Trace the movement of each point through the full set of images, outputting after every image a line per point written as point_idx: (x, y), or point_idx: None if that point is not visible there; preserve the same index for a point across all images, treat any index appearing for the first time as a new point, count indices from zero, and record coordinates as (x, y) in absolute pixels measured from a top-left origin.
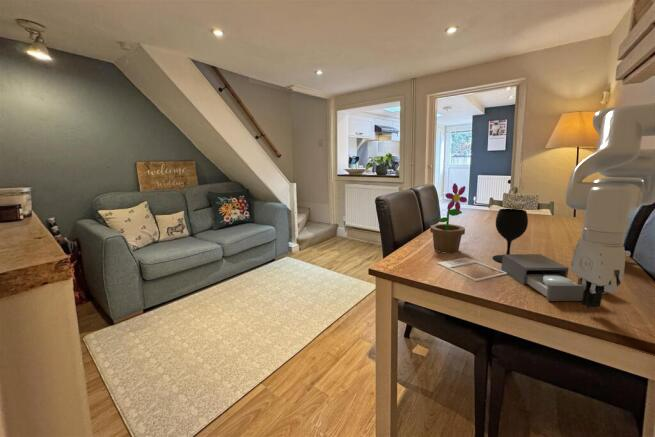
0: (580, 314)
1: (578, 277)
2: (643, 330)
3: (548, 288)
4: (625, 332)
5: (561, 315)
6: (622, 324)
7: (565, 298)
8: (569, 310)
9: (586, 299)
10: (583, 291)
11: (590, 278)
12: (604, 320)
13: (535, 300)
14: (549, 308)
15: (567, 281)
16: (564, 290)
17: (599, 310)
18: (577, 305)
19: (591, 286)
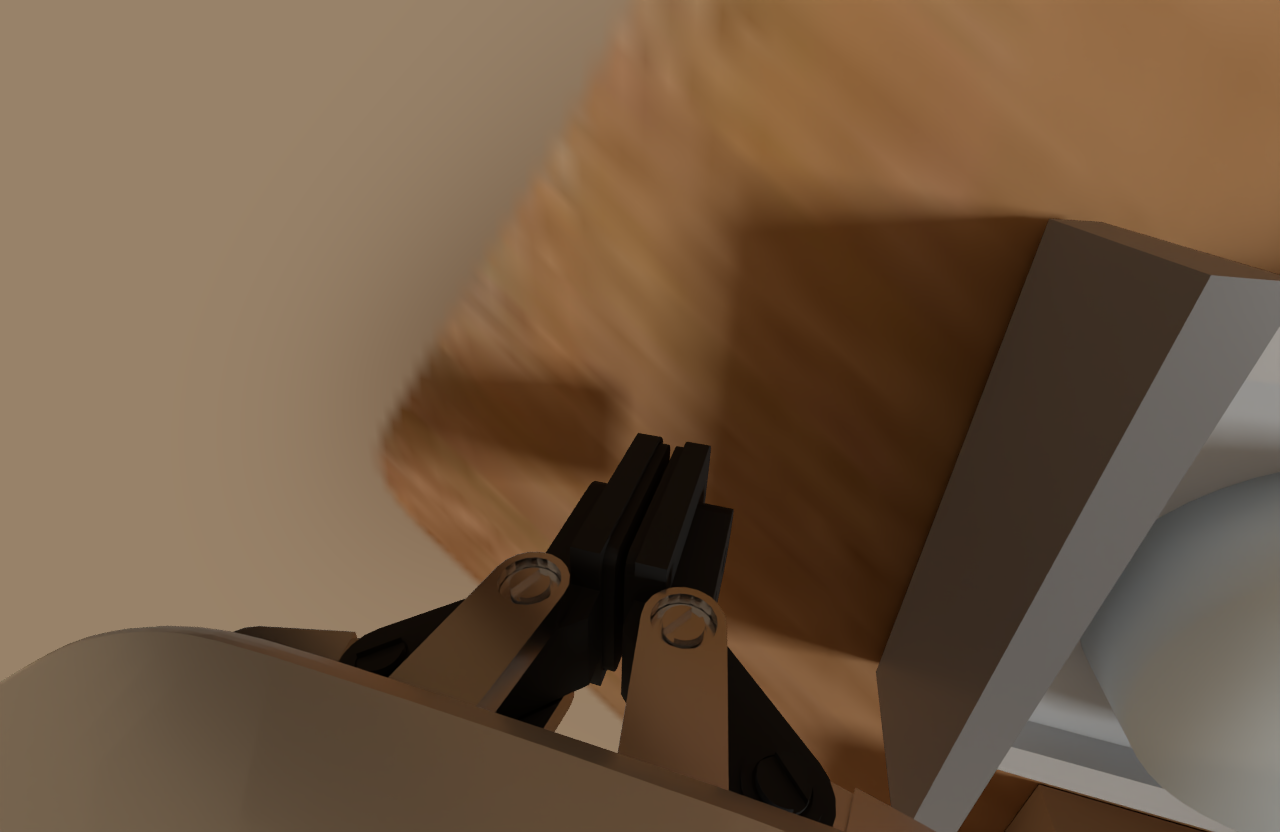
0: (673, 349)
1: (918, 827)
2: (468, 551)
3: (1203, 261)
4: (425, 432)
5: (662, 110)
6: (525, 511)
7: (974, 456)
8: (762, 309)
9: (629, 476)
10: (926, 680)
11: (228, 755)
12: (573, 451)
13: (1170, 19)
14: (852, 78)
15: (1248, 767)
16: (1020, 499)
17: (728, 562)
18: (848, 480)
19: (510, 645)
